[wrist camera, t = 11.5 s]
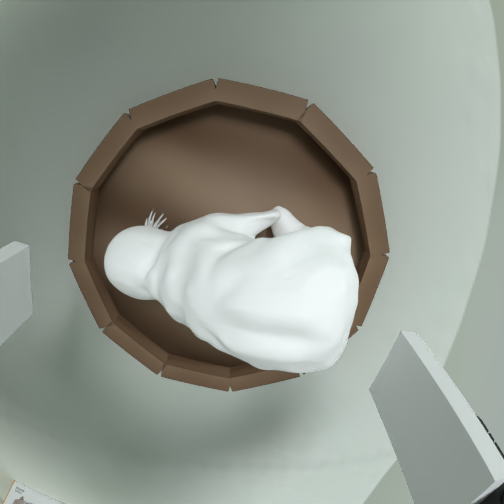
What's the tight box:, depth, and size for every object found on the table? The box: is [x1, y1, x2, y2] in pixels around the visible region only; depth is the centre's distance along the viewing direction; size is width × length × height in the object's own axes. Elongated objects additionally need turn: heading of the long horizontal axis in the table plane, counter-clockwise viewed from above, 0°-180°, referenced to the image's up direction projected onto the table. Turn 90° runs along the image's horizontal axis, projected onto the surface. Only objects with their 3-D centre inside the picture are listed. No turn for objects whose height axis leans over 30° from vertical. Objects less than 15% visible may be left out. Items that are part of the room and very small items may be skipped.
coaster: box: [68, 78, 389, 391], centre depth 18 cm, size 18×18×2 cm
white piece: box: [104, 206, 359, 373], centre depth 14 cm, size 6×8×12 cm
